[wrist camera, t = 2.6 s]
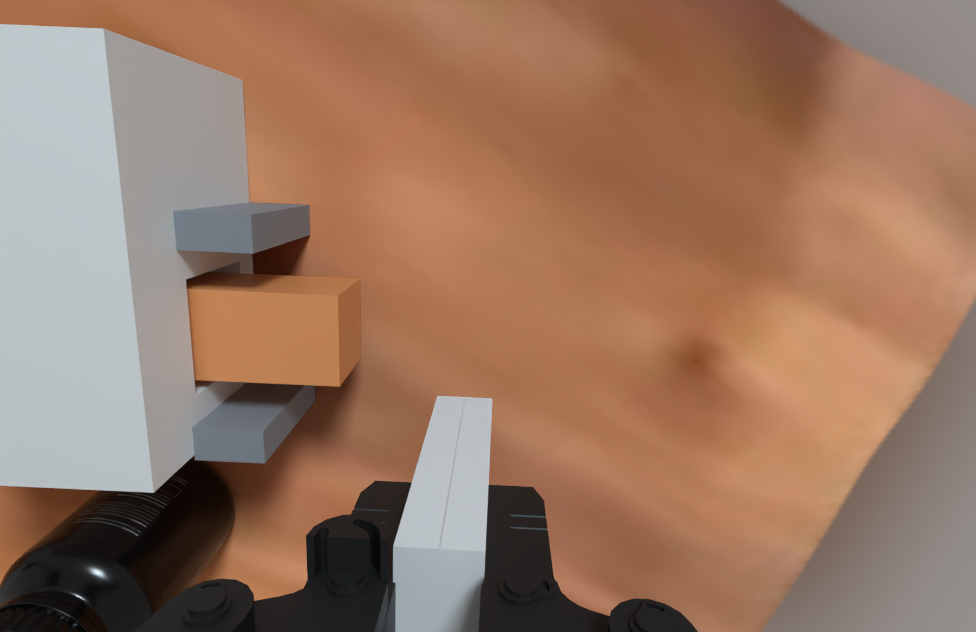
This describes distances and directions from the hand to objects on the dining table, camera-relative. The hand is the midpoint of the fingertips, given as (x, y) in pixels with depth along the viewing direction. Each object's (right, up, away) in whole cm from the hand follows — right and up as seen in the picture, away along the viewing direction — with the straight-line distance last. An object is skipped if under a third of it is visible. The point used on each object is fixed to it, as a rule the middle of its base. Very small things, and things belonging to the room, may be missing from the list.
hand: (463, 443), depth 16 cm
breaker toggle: (-9, +3, +12) cm, 16 cm away
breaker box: (-15, +7, +14) cm, 21 cm away
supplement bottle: (-17, -7, +17) cm, 25 cm away
